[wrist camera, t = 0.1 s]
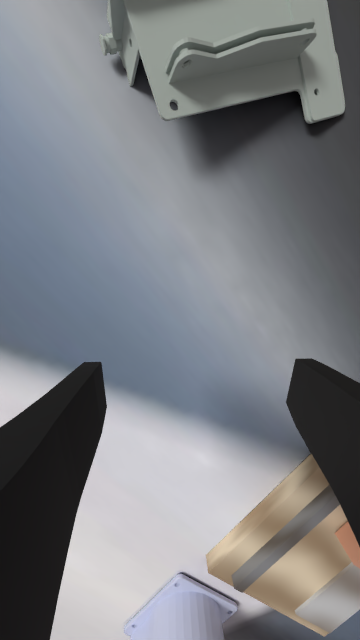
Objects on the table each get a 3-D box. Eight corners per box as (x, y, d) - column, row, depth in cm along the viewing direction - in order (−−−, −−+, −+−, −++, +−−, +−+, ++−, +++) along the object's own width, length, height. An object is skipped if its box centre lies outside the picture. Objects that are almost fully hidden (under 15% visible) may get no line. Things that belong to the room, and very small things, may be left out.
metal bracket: (170, 148, 13) (15, -336, 9) (146, 188, 18) (44, -101, 14) (385, 91, 16) (339, -276, 12) (310, 139, 21) (262, -104, 18)
